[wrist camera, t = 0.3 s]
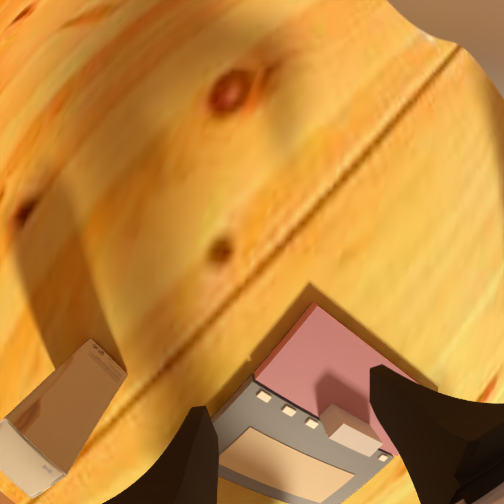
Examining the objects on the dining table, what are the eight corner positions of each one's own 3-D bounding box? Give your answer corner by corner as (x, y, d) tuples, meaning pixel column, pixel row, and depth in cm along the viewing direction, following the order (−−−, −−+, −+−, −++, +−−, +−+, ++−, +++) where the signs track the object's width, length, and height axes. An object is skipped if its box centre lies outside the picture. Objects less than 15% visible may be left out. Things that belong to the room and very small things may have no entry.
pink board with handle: (391, 449, 25) (409, 473, 20) (253, 372, 23) (258, 400, 19) (438, 398, 24) (460, 417, 20) (313, 301, 23) (330, 317, 18)
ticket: (323, 507, 25) (326, 515, 24) (181, 448, 23) (179, 457, 22) (389, 451, 25) (394, 458, 23) (251, 374, 23) (252, 382, 21)
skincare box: (91, 335, 22) (4, 412, 10) (130, 374, 22) (70, 474, 10) (55, 377, 22) (-21, 452, 10) (90, 411, 22) (31, 501, 10)
